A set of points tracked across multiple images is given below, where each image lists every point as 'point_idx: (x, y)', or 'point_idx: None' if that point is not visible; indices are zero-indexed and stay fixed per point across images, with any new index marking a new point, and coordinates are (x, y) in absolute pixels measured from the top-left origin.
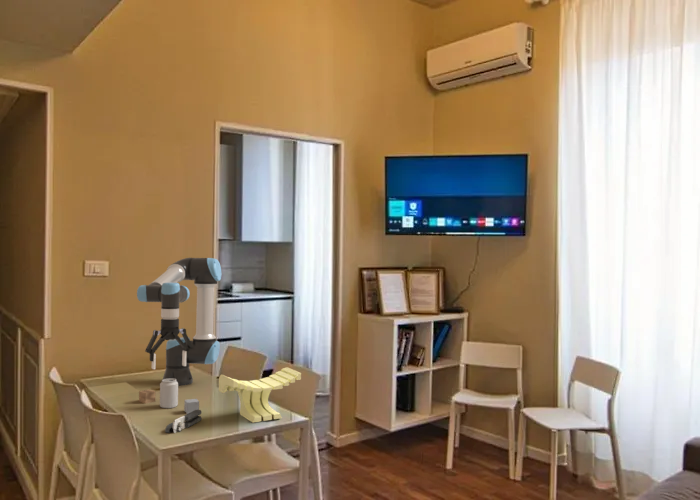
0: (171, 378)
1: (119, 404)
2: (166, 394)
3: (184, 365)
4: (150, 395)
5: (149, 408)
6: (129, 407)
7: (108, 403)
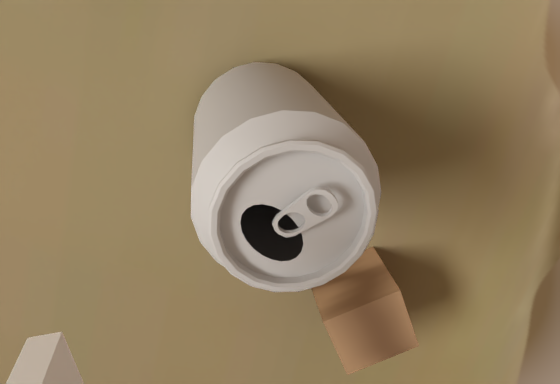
0: (252, 284)
1: (492, 291)
2: (316, 96)
3: (60, 345)
4: (355, 290)
5: (383, 145)
6: (474, 214)
7: (527, 325)
